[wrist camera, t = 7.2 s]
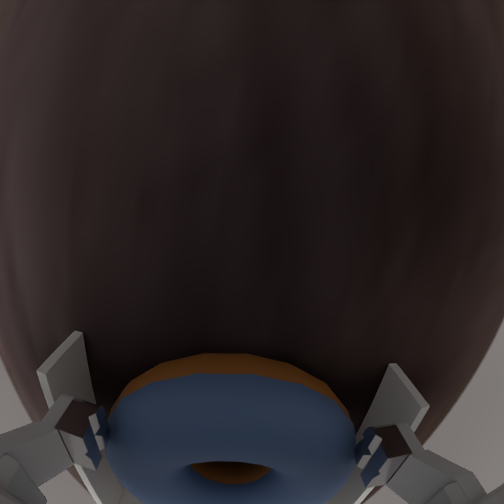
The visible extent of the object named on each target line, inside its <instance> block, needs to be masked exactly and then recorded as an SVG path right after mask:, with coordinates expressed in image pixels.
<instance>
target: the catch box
mask: <svg viewBox="0 0 504 504" xmlns="http://www.w3.org/2000/svg"><path fill="white" fill-rule="evenodd" d="M36 372H37V375H38V378H39V381H40V384H41V387H42V390H43V393H44V396H45V399H46V402H47V405H48V407H49V410H50V408H51V407H52V405H53V404H54V403H55V401H56V400H57V398H58V397H59V396H60V395H61V394H63V393H65V394H68V395H70V396H73V397H76V398H79V399H82V400H85V401H88V402H91V403H94V404H96V400H95V396H94V392H93V387H92V383H91V378H90V373H89V368H88V362H87V356H86V350H85V344H84V337H83V332H79V331H74V332H73V333H72V334H71V335H70V336H69V337H68V338H67V339H66V340H65V341H64V342H63V343H62V344H61V345H60V346H59V347H58V348H57V349H56V350H55V351H54V352H53V353H52V354H51V355H50V356H49V357H48V359H47V360H46V361H45V362H44V363H43V364H42V365H41V366H40V367H39V368H38V369H37V370H36ZM429 407H430V406H429V405H428V403H427V402H426V401H425V399H424V398H423V397H422V395H421V394H420V393H419V391H418V390H417V389H416V388H415V386H414V385H413V384H412V382H411V381H410V380H409V379H408V377H407V376H406V375H405V373H404V372H403V371H402V370H401V368H400V367H399V366H398V365H397V363H392V364H389V365H388V367H387V370H386V372H385V375H384V377H383V379H382V382H381V384H380V386H379V389H378V391H377V393H376V395H375V397H374V400H373V402H372V404H371V406H370V408H369V410H368V412H367V414H366V416H365V418H364V420H363V422H362V424H361V426H360V428H359V430H358V432H357V434H356V443H358V442H359V441H361V440H362V439H363V438H364V436H363V433H364V431H365V429H367V428H368V427H372V426H379V425H385V424H393V423H398V422H404V421H405V422H407V423H408V424H409V426H410V428H411V429H412V431H413V432H415V430H416V429H417V427H418V425H419V424H420V422H421V421H422V419H423V417H424V415H425V414H426V412H427V410H428V409H429ZM100 452H101V455H102V458H101V461H100V463H99V465H98V468H97V470H96V471H95V470H92V469H89V468H86V467H83V466H80V465H77V464H75V463H73V464H74V465H75V467H76V469H77V471H78V473H79V475H80V476H81V478H82V480H83V482H84V484H85V485H86V487H87V489H88V490H89V492H90V494H91V495H92V497H93V498H94V500H95V502H96V503H97V504H144V503H142V502H141V501H139V500H138V499H137V498H136V497H134V496H133V495H132V494H131V493H130V492H129V491H127V490H126V489H125V488H124V487H123V486H122V484H121V483H120V482H119V480H118V479H117V477H116V475H115V474H114V472H113V470H112V469H111V467H110V465H109V463H108V462H107V458H106V454H105V448H104V449H102V450H101V451H100ZM361 472H362V469H361V468H359V467H358V466H357V465H356V464H355V466H354V468H353V471H352V473H351V475H350V477H349V479H348V481H347V483H346V484H345V485H344V486H343V488H342V489H341V490H340V491H339V492H338V493H337V494H336V495H335V496H334V497H332V498H331V499H330V500H329V501H328V502H327V503H326V504H360V503H361V502H362V501H363V500H364V498H365V497H366V496H367V495H368V494H369V493H370V491H371V490H372V489H373V488H374V487H369V488H365V486H364V483H363V481H362V478H361V476H360V474H361Z"/></svg>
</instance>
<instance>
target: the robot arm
mask: <svg viewBox="0 0 504 504" xmlns="http://www.w3.org/2000/svg"><path fill="white" fill-rule="evenodd" d="M105 416H106V412H105V408H104V407H102V406H100V405H97V404H94V403H91V402H88V401H85V400H82V399H79V398H76V397H73V396H70V395H68V394H65V393H63V394H61V395H60V396H59V397H58V398H57V400H56V401H55V403H54V404H53V405H52V407H51V408H50V410H49V411H48V412H47V414H46V415H45V417H44V418H43V419H42V421H41V422H39V421H36V422H33V423H30V424H28V425H25V426H22V427H20V428H17V429H14V430H12V431H9V432H6V433H3V434H0V504H46V502H47V500H46V497H45V496H44V495H43V494H42V493H41V491H40V490H39V489H38V488H37V487H38V486H40V485H42V484H44V483H45V482H47V481H48V480H50V479H52V478H53V477H55V476H56V475H58V474H59V473H61V472H63V471H64V470H66V469H67V468H69V467H71V466H72V465H74V464H73V463H75V464H77V465H80V466H83V467H86V468H89V469H92V470H95V471H96V470H97V468H98V465H99V463H100V461H101V458H102V455H101V452H100V451H101V450H102V449H104V448H106V447H107V444H108V442H109V434H110V427H109V423H108V422H107V421H106V420H105V419H104V418H105ZM363 436H364V438H363V439H362V440H361V441H359V442H358V443H357V445H356V447H355V455H354V458H355V462H356V465H357V466H358V467H359V468H361V469H362V472H361V474H360V476H361V478H362V481H363V483H364V486H365V488H369V487H375V486H380V485H385V484H386V486H388V487H389V488H390V489H391V490H393V491H394V492H395V493H396V494H397V495H399V496H400V497H401V498H402V499H404V500H405V501H406V502H408V503H409V504H504V483H503V484H502V485H501V486H499V487H498V488H496V489H494V490H493V491H491V492H490V493H488V494H487V493H486V492H485V490H484V489H483V487H482V486H481V484H480V483H479V481H478V479H477V478H476V477H475V475H474V474H473V472H471V471H469V470H467V469H465V468H463V467H460V466H459V465H457V464H455V463H453V462H451V461H449V460H447V459H445V458H443V457H441V456H439V455H437V454H435V453H433V452H431V451H430V450H424V448H423V447H422V445H421V443H420V442H419V440H418V439H417V437H416V435H415V434H414V432H413V431H412V429H411V428H410V426H409V424H408V423H407V422H405V421H404V422H398V423H393V424H385V425H379V426H372V427H368V428H367V429H365V431H364V433H363Z"/></svg>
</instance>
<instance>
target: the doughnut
mask: <svg viewBox="0 0 504 504" xmlns="http://www.w3.org/2000/svg"><path fill="white" fill-rule="evenodd" d="M107 422H108V423H109V427H110V434H109V442H108V444H107V447H106V448H105V454H106V458H107V462H108V463H109V465H110V467H111V469H112V470H113V472H114V474H115V475H116V477H117V479H118V480H119V482H120V483H121V484H122V486H123V487H124V488H125V489H126V490H127V491H129V492H130V493H131V494H132V495H133V496H134V497H136V498H137V499H138V500H139V501H141V502H142V503H144V504H326V503H327V502H328V501H329V500H330V499H331V498H332V497H334V496H335V495H336V494H337V493H338V492H339V491H340V490H341V489H342V488H343V486H344V485H345V484H346V483H347V481H348V479H349V477H350V475H351V473H352V471H353V468H354V466H355V464H356V462H355V458H354V455H355V447H356V445H357V443H356V435H355V429H354V424H353V422H352V421H351V419H350V415H349V412H348V410H347V409H346V408H345V406H344V405H343V404H342V403H341V401H340V400H339V399H338V398H337V396H336V395H335V394H334V393H333V392H332V390H331V389H330V388H329V387H328V385H327V384H326V383H324V382H323V381H321V380H319V379H317V378H315V377H313V376H311V375H310V374H308V373H306V372H304V371H302V370H301V369H299V368H297V367H295V366H293V365H291V364H289V363H286V362H281V361H277V360H272V359H268V358H264V357H260V356H256V355H252V354H248V353H202V354H198V355H193V356H189V357H185V358H180V359H176V360H171V361H166V362H163V363H160V364H158V365H157V366H155V367H153V368H152V369H150V370H148V371H146V372H145V373H143V374H141V375H140V376H138V377H136V378H134V379H133V380H131V381H130V382H129V383H128V384H127V386H126V387H125V388H124V390H123V391H122V393H121V394H120V396H119V397H118V399H117V400H116V402H115V403H114V405H113V406H112V408H111V409H110V413H109V417H108V419H107Z"/></svg>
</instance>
